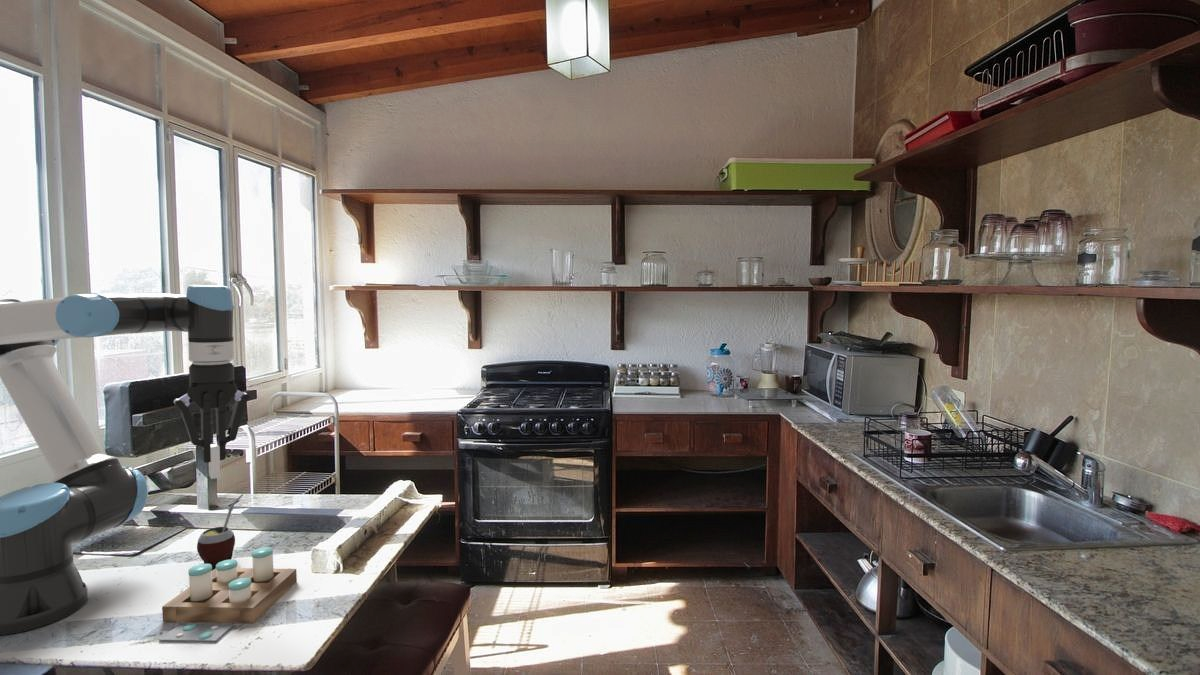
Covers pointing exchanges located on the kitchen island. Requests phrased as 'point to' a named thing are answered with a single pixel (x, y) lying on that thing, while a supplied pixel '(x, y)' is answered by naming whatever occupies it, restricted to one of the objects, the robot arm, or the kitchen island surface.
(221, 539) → the mate gourd
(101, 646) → the kitchen island surface
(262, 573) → the button
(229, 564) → the button
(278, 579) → the board
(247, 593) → the button
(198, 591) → the button
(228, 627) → the card
